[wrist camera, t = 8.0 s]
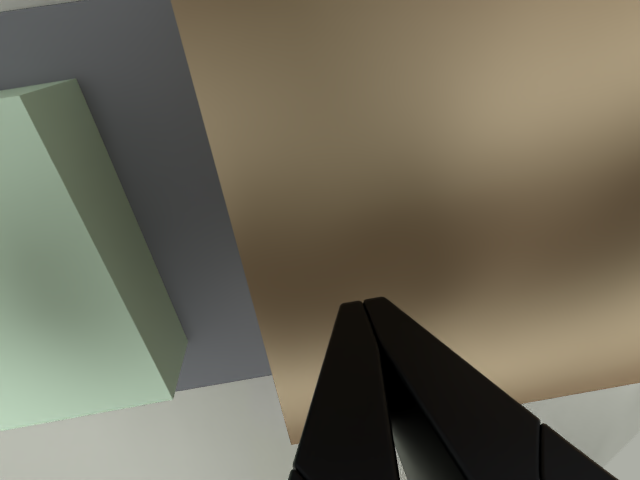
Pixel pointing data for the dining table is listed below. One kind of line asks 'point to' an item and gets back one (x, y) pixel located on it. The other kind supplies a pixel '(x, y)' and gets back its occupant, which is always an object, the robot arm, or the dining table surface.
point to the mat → (152, 162)
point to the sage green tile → (74, 271)
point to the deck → (432, 177)
